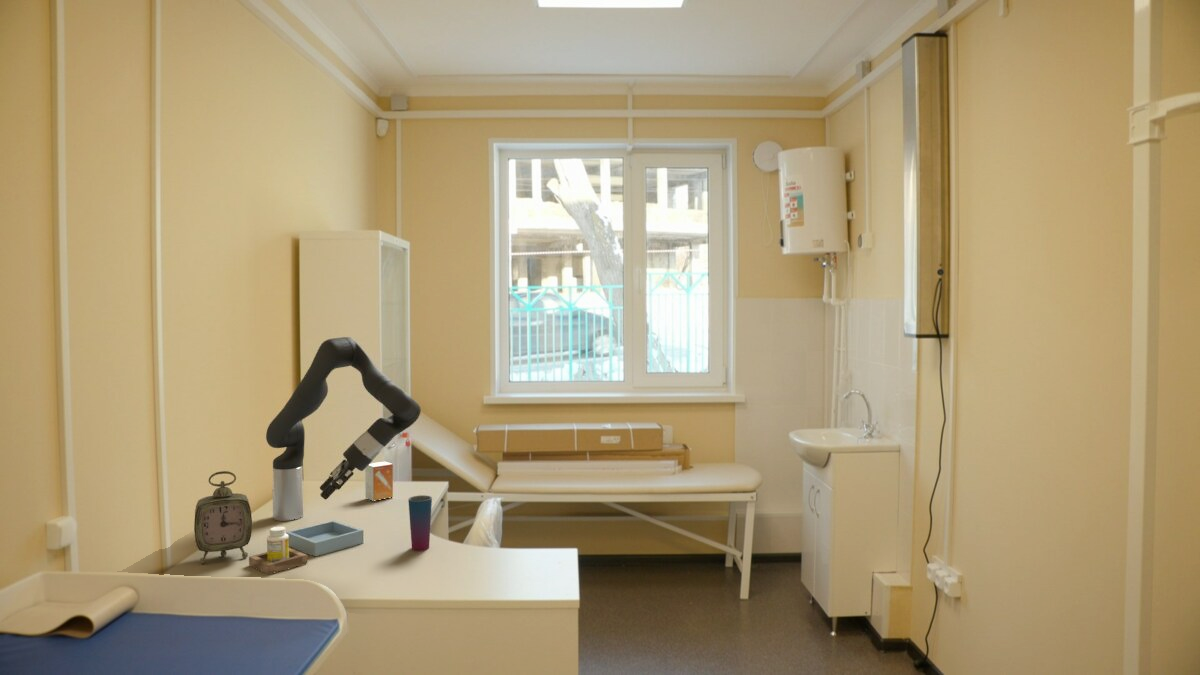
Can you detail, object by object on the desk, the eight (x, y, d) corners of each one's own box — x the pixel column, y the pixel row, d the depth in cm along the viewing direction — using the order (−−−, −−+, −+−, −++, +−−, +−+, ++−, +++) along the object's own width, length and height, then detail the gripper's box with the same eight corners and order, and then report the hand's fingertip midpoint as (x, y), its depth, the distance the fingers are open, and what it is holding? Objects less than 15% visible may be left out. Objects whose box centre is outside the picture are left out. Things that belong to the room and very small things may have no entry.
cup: (436, 546, 229) (436, 496, 228) (422, 553, 223) (422, 502, 222) (418, 543, 232) (418, 494, 231) (403, 549, 226) (403, 499, 225)
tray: (285, 545, 229) (285, 532, 229) (333, 532, 242) (333, 520, 242) (315, 556, 219) (315, 543, 219) (363, 543, 232) (363, 530, 232)
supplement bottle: (283, 559, 217) (282, 524, 216) (293, 564, 213) (292, 528, 213) (263, 565, 212) (263, 528, 212) (273, 569, 209) (272, 532, 208)
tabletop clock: (195, 567, 211) (193, 477, 209) (195, 557, 219) (193, 470, 217) (252, 559, 217) (251, 471, 216) (250, 549, 225) (249, 465, 224)
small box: (373, 502, 278) (373, 466, 278) (365, 499, 283) (364, 464, 282) (393, 498, 284) (393, 463, 283) (385, 495, 288) (384, 460, 288)
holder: (249, 565, 212) (248, 556, 212) (286, 555, 221) (286, 546, 220) (269, 574, 205) (269, 565, 205) (307, 563, 214) (307, 554, 214)
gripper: (352, 438, 225) (311, 480, 222) (355, 446, 212) (312, 491, 208) (371, 454, 227) (331, 496, 224) (376, 463, 214) (333, 508, 211)
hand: (322, 493), depth 216 cm, fingers open, 8 cm apart
